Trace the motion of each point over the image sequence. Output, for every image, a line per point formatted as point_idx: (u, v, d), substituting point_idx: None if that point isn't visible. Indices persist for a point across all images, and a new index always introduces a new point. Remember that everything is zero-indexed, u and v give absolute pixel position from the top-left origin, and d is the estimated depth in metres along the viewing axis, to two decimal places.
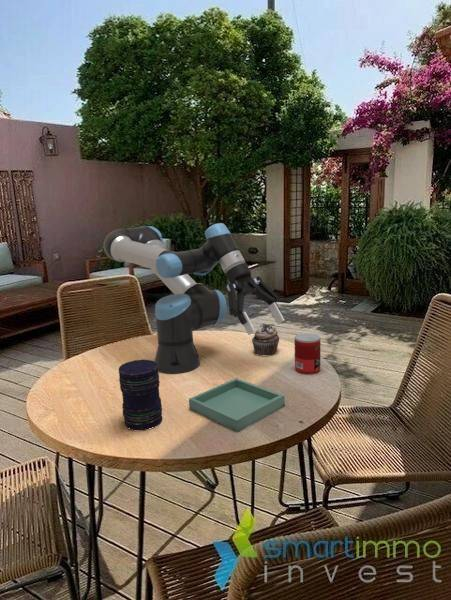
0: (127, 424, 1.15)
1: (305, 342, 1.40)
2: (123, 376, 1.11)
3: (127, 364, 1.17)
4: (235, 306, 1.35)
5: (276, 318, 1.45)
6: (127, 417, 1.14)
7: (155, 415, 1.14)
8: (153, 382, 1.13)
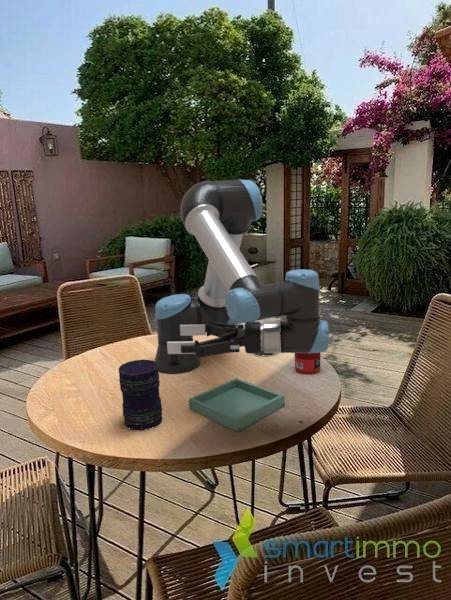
0: (127, 424, 1.15)
1: None
2: (123, 376, 1.11)
3: (127, 364, 1.17)
4: None
5: (186, 328, 1.18)
6: (127, 417, 1.14)
7: (155, 415, 1.14)
8: (153, 382, 1.13)
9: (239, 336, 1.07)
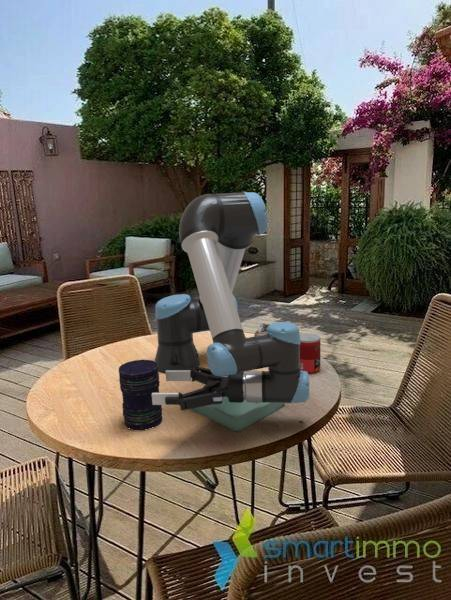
0: (127, 424, 1.15)
1: (305, 342, 1.40)
2: (123, 376, 1.11)
3: (127, 364, 1.17)
4: None
5: (172, 373, 1.20)
6: (127, 417, 1.14)
7: (155, 415, 1.14)
8: (153, 382, 1.13)
9: (222, 386, 1.10)
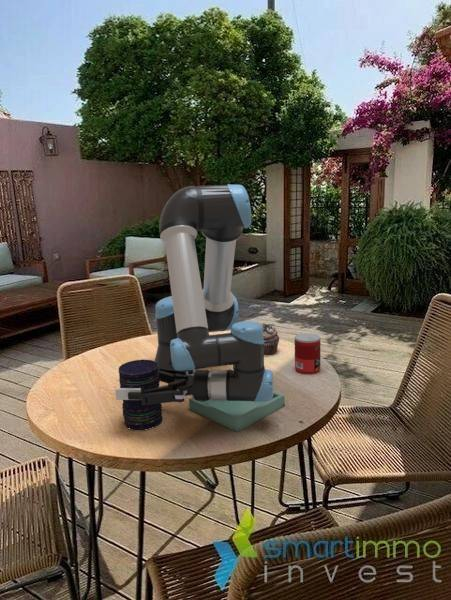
0: (127, 424, 1.15)
1: (305, 342, 1.40)
2: (123, 376, 1.11)
3: (127, 364, 1.17)
4: None
5: None
6: (127, 417, 1.14)
7: (155, 415, 1.14)
8: (153, 382, 1.13)
9: (188, 385, 1.11)
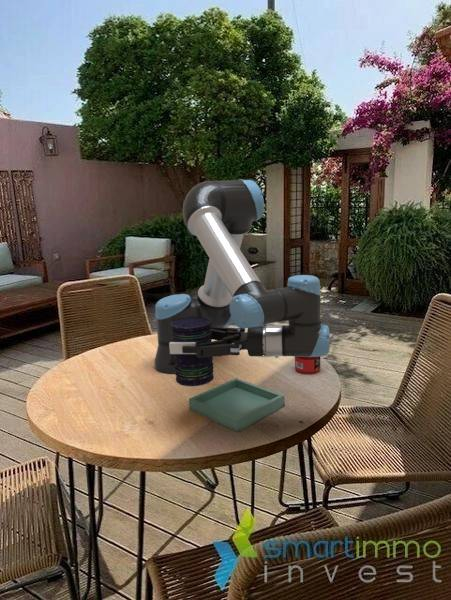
0: (179, 380, 1.14)
1: None
2: (177, 330, 1.10)
3: (179, 320, 1.16)
4: None
5: None
6: (180, 372, 1.13)
7: (208, 371, 1.13)
8: (206, 337, 1.11)
9: (242, 339, 1.10)
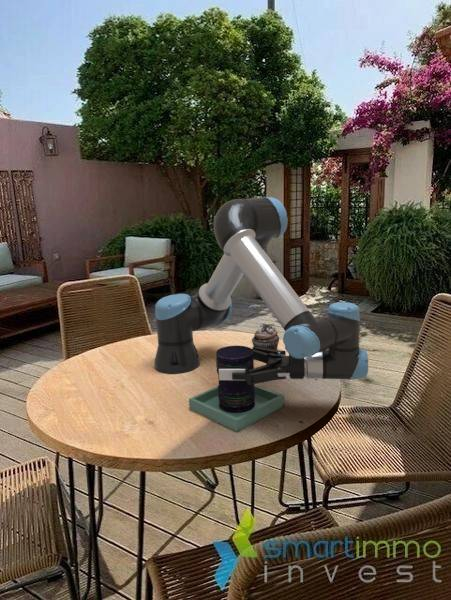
0: (224, 407, 1.19)
1: None
2: (223, 360, 1.16)
3: (222, 349, 1.21)
4: None
5: None
6: (225, 400, 1.18)
7: (251, 398, 1.19)
8: (250, 366, 1.17)
9: (284, 363, 1.16)
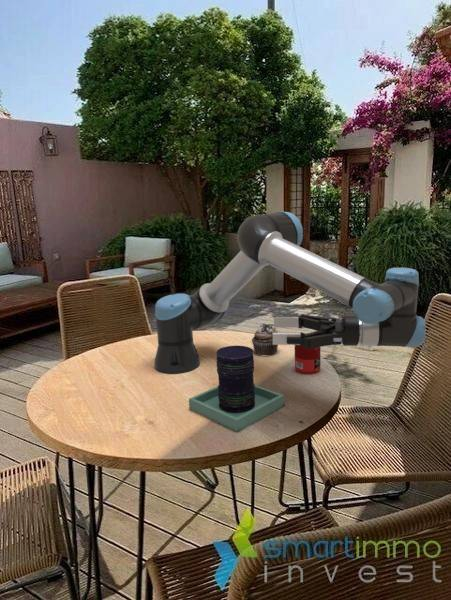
0: (224, 407, 1.19)
1: None
2: (223, 360, 1.16)
3: (222, 349, 1.22)
4: None
5: (280, 320, 1.24)
6: (225, 400, 1.18)
7: (251, 398, 1.19)
8: (251, 366, 1.17)
9: (339, 329, 1.13)
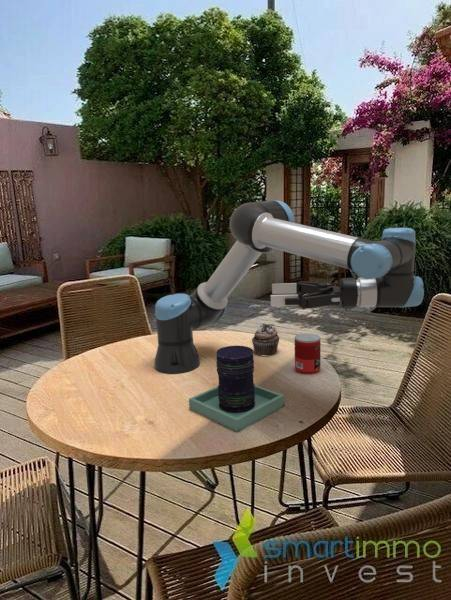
0: (224, 407, 1.20)
1: (305, 342, 1.40)
2: (223, 360, 1.16)
3: (222, 349, 1.22)
4: None
5: (278, 286, 1.24)
6: (225, 400, 1.18)
7: (251, 398, 1.19)
8: (250, 366, 1.17)
9: (337, 291, 1.13)
